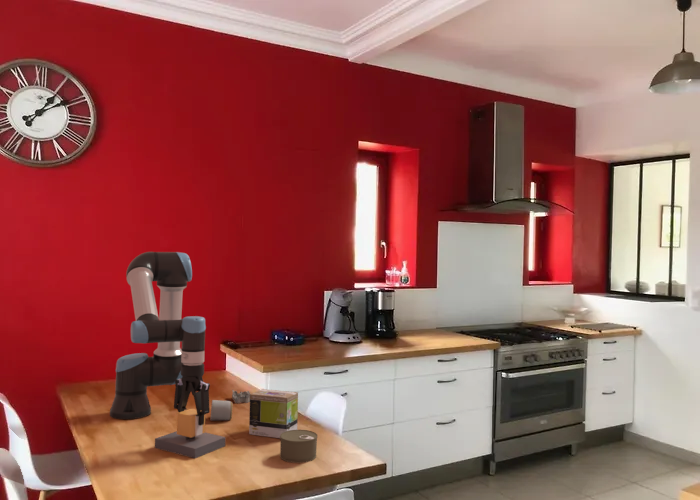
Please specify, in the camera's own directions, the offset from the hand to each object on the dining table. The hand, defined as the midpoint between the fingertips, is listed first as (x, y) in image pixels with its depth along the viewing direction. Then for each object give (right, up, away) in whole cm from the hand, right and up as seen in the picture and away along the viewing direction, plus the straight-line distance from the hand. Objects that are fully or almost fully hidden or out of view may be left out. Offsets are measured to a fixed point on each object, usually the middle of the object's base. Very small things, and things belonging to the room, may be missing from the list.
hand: (190, 432), depth 191 cm
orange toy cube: (0, 0, 0) cm, 0 cm away
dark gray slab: (0, -5, 0) cm, 5 cm away
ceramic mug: (+2, -5, +33) cm, 34 cm away
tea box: (+25, -6, +17) cm, 31 cm away
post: (0, -2, 0) cm, 2 cm away
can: (+36, -6, -6) cm, 37 cm away
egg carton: (+5, -6, +62) cm, 63 cm away
